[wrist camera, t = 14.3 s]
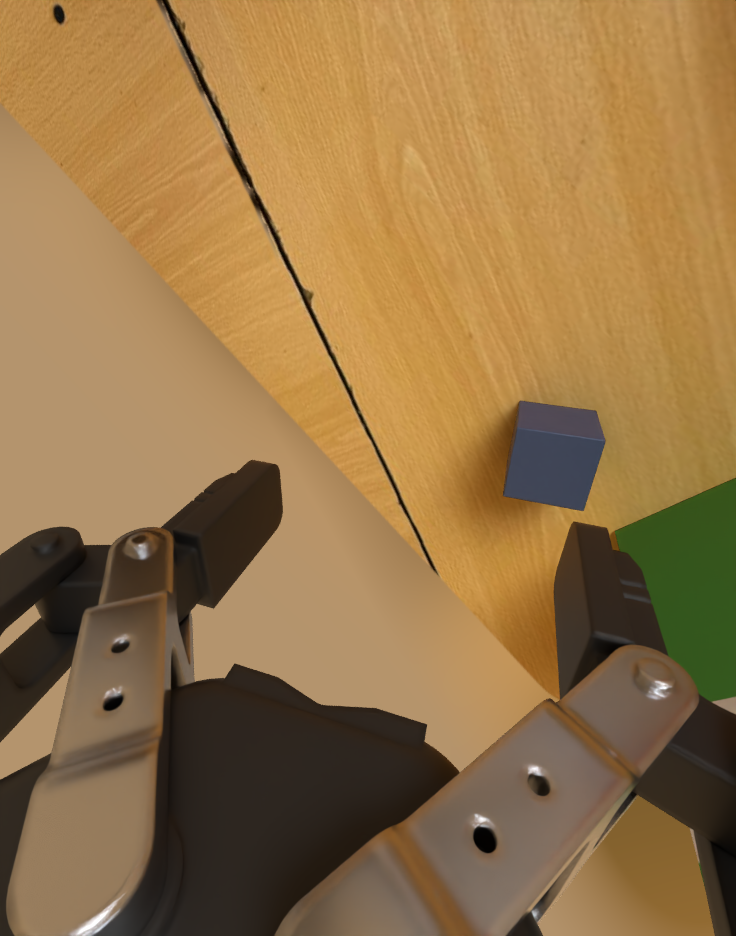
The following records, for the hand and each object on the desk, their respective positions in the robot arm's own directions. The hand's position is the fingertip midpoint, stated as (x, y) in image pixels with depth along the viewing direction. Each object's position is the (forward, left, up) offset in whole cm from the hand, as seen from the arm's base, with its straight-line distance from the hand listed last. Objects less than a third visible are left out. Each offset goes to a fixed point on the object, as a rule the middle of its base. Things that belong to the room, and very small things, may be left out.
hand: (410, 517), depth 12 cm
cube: (+6, +5, -22) cm, 23 cm away
